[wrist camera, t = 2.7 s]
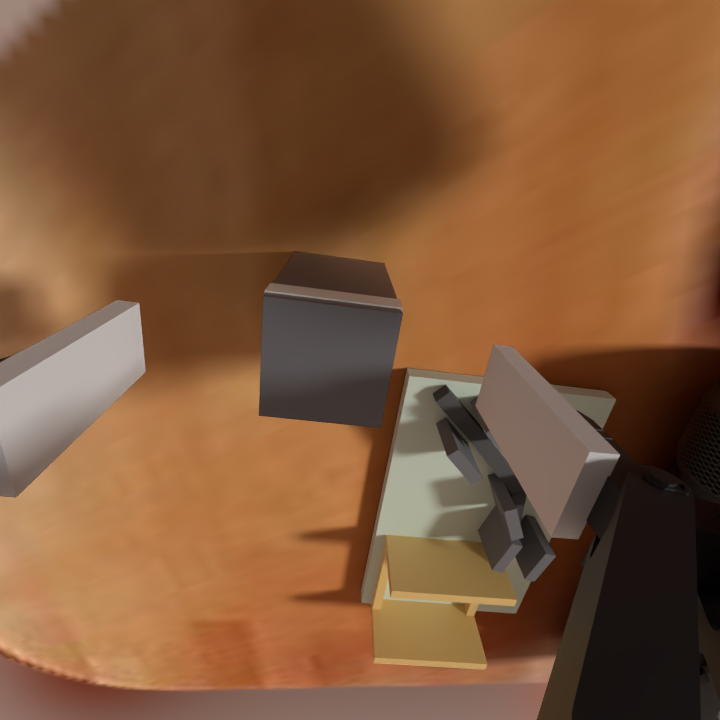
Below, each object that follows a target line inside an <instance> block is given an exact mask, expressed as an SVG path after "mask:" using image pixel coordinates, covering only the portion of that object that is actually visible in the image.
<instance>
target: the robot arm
mask: <svg viewBox="0 0 720 720" xmlns="http://www.w3.org/2000/svg"><path fill="white" fill-rule="evenodd" d="M145 372H146V370H145V359H144V349H143V338H142V327H141V316H140V305H139V303H137V302H128V301H120V300H116V301H114V302H112V303H111V304H109V305H107V306H105V307H103V308H101V309H99V310H97V311H96V312H94V313H92V314H90V315H88V316H86V317H84V318H82V319H81V320H79V321H77V322H75V323H73V324H71V325H69V326H67V327H66V328H64V329H62V330H60V331H58V332H56V333H54V334H52V335H51V336H49V337H47V338H45V339H43V340H41V341H39V342H37V343H36V344H34V345H32V346H30V347H28V348H26V349H24V350H22V351H21V352H19V353H17V354H15V355H13V356H9V357H6V358H3V359H0V496H4V497H17V496H18V495H19V494H20V493H21V492H22V491H23V490H24V489H25V488H26V487H27V486H28V485H29V484H30V483H31V482H33V481H34V480H35V479H36V478H37V477H38V476H39V475H40V474H41V473H42V472H43V471H44V470H45V469H46V468H47V467H48V466H49V465H50V464H51V463H52V462H53V461H54V460H55V459H56V458H57V457H58V456H59V455H60V454H61V453H62V452H63V451H65V450H66V449H67V448H68V447H69V446H70V445H71V444H72V443H73V442H74V441H75V440H76V439H77V438H78V437H79V436H80V435H81V434H82V433H83V432H84V431H85V430H86V429H87V428H88V427H89V426H90V425H91V424H92V423H93V422H94V421H95V420H96V419H98V418H99V417H100V416H101V415H102V414H103V413H104V412H105V411H106V410H107V409H108V408H109V407H110V406H111V405H112V404H113V403H114V402H115V401H116V400H117V399H118V398H119V397H120V396H121V395H122V394H123V393H124V392H125V391H126V390H127V389H128V388H130V387H131V386H132V385H133V384H134V383H135V382H136V381H137V380H138V379H139V378H140V377H141V376H142V375H143V374H144V373H145ZM476 408H477V409H478V411H479V413H480V415H481V416H482V418H483V420H484V422H485V423H486V425H487V427H488V429H489V430H490V432H491V434H492V436H493V437H494V439H495V441H496V443H497V444H498V446H499V448H500V450H501V451H502V453H503V455H504V457H505V458H506V460H507V462H508V463H509V465H510V467H511V469H512V470H513V472H514V474H515V476H516V477H517V479H518V481H519V483H520V484H521V486H522V488H523V490H524V491H525V493H526V495H527V497H528V498H529V500H530V502H531V504H532V505H533V507H534V509H535V511H536V512H537V514H538V516H539V518H540V519H541V521H542V523H543V525H544V526H545V528H546V530H547V532H548V533H549V535H550V537H553V538H566V539H579V537H580V535H581V533H582V531H583V529H584V527H585V525H586V523H587V522H588V523H589V524H590V526H591V527H592V529H593V530H594V531H595V533H596V535H595V537H594V539H593V541H592V543H591V545H590V547H589V549H588V551H587V552H586V554H585V556H584V558H583V560H582V562H581V564H580V566H581V567H583V571H582V574H581V577H580V581H579V584H578V587H577V590H576V594H575V597H574V600H573V604H572V607H571V610H570V613H569V617H568V620H567V623H566V626H565V630H564V633H563V636H562V639H561V643H560V646H559V649H558V652H557V656H556V659H555V662H554V666H553V669H552V672H551V675H550V679H549V682H548V685H547V689H546V692H545V695H544V698H543V701H542V705H541V708H540V711H539V715H538V718H537V720H701V703H700V668H699V642H700V645H701V648H702V651H703V654H704V657H705V660H706V663H707V666H708V668H709V671H710V674H711V677H712V680H713V683H714V686H715V689H716V692H717V695H718V698H719V701H720V504H718V503H714V502H711V501H707V500H704V499H700V498H697V497H695V496H694V494H693V492H692V490H691V489H690V488H689V487H688V486H687V485H686V484H685V483H684V482H683V481H682V480H680V479H679V478H677V477H676V476H674V475H672V474H670V473H668V472H666V471H664V470H662V469H659V468H656V467H654V466H651V465H644V464H638V463H637V462H636V461H635V460H634V459H633V458H632V457H631V456H630V455H629V454H627V453H626V452H625V451H624V450H623V449H622V448H621V447H620V446H619V445H618V444H617V443H616V442H615V441H612V438H611V437H610V436H609V435H608V434H607V433H606V432H603V429H602V428H601V427H600V426H599V425H598V424H597V423H596V422H595V421H594V420H592V419H591V418H589V417H588V416H586V415H584V414H583V413H581V412H580V411H578V410H575V409H574V408H573V407H572V406H571V405H570V404H569V403H568V402H567V401H566V400H565V399H564V398H563V397H562V396H561V395H560V394H559V393H558V392H557V391H556V390H555V389H554V388H553V387H552V386H551V385H550V384H549V383H548V382H547V381H546V380H545V379H544V378H543V377H542V376H541V375H540V374H539V373H538V372H537V371H536V370H535V369H534V368H533V367H532V366H531V365H530V364H529V363H528V362H527V361H526V360H525V359H524V358H523V357H522V356H521V355H520V354H519V352H518V351H517V350H516V349H515V348H514V347H512V346H503V345H495V344H494V345H493V348H492V351H491V355H490V358H489V361H488V365H487V368H486V372H485V375H484V378H483V382H482V385H481V389H480V392H479V395H478V399H477V402H476Z"/></svg>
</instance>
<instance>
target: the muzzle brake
mask: <svg viewBox="0 0 720 720" xmlns="http://www.w3.org/2000/svg"><path fill="white" fill-rule="evenodd" d="M677 456H678V457H677V459H676V461H675V463H674V465H673V466H672V468H671V470H670V472H669V473H670V474H672V475H674V476H676V477H677V478H679V479H680V480H682V481H683V482H684V483H685V484H686V485H687V486H688V487H689V488H690V489H691V490H692V492H693V494H694V496H695V497H697V498H700V499H704V500H707V501H711V502H714V503H718V504H720V382H719V383H717V384H715V385H714V386H712V387H710V388H709V389H708V390H707V391H706V393H705V394H704V395H703V397H702V399H701V401H700V403H699V405H698V406H697V408H696V410H695V412H694V414H693V416H692V418H691V420H690V421H689V423H688V425H687V427H686V429H685V431H684V433H683V435H682V436H681V438H680V440H679V442H678V444H677ZM699 668H700V703H701V720H720V701H719V698H718V695H717V692H716V689H715V686H714V683H713V680H712V677H711V674H710V671H709V668H708V666H707V663H706V660H705V657H704V654H703V651H702V648H701V645H700V642H699Z"/></svg>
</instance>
